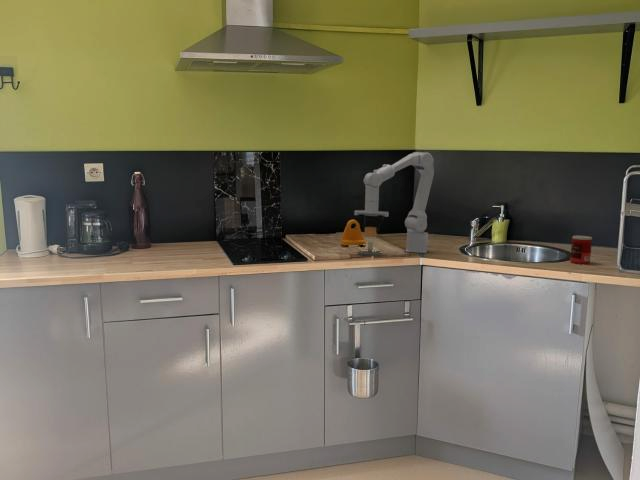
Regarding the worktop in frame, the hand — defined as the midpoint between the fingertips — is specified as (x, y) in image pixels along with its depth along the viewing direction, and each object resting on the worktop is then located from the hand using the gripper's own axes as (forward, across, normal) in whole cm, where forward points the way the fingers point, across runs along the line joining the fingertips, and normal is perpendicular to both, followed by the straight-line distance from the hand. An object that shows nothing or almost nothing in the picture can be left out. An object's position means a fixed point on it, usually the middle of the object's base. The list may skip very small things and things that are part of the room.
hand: (370, 232), depth 266 cm
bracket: (+10, -11, +18) cm, 24 cm away
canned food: (+10, +87, +10) cm, 88 cm away
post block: (+9, 0, 0) cm, 9 cm away
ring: (+2, 0, 0) cm, 2 cm away
